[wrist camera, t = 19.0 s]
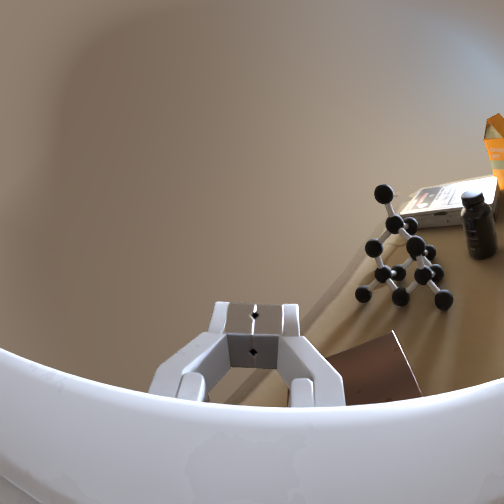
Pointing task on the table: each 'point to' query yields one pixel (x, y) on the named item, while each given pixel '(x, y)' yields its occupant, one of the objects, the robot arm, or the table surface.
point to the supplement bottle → (478, 224)
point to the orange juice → (496, 146)
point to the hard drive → (448, 203)
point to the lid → (375, 372)
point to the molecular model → (417, 253)
